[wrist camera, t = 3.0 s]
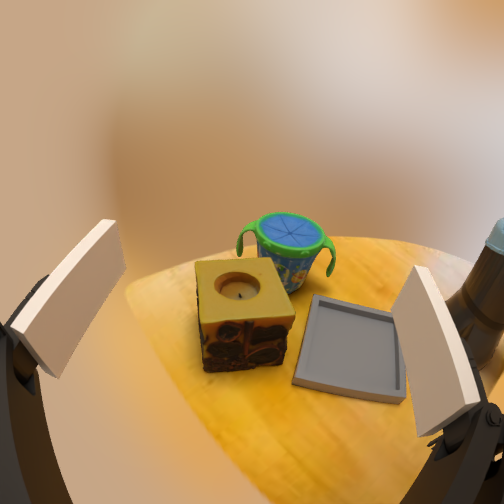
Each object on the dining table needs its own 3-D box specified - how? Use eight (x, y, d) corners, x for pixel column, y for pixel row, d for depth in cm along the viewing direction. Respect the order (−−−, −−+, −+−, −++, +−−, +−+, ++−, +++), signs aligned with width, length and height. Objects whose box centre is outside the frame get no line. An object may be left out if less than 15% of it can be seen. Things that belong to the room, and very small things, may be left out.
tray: (396, 323, 40) (401, 315, 39) (398, 404, 28) (406, 397, 27) (310, 302, 43) (313, 293, 41) (291, 384, 31) (294, 376, 30)
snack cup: (329, 274, 49) (344, 225, 43) (320, 315, 41) (338, 262, 35) (248, 250, 52) (253, 202, 46) (225, 285, 44) (227, 231, 38)
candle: (283, 365, 33) (300, 316, 27) (203, 375, 31) (198, 326, 25) (265, 308, 41) (274, 255, 35) (197, 314, 39) (193, 259, 33)
